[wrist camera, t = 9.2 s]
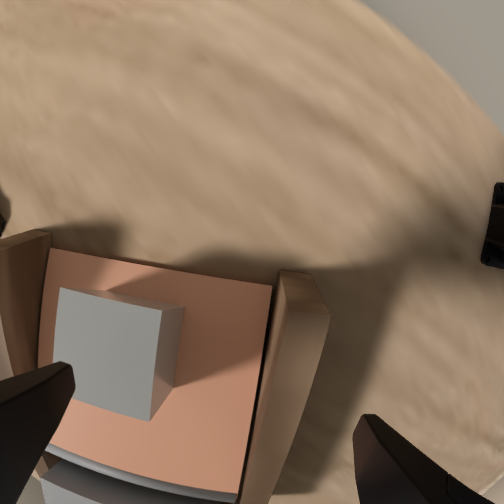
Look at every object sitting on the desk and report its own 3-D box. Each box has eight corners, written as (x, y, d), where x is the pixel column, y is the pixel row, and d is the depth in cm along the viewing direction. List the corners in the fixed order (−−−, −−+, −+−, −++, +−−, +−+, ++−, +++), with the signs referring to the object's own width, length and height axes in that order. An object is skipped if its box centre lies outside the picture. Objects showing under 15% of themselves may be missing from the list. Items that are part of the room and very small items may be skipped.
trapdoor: (268, 286, 23) (276, 284, 18) (228, 526, 20) (226, 561, 15) (68, 252, 22) (33, 242, 17) (61, 481, 19) (37, 505, 14)
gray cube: (184, 306, 20) (161, 310, 14) (173, 388, 19) (149, 421, 13) (106, 290, 19) (60, 287, 13) (97, 368, 19) (52, 390, 13)
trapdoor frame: (309, 274, 20) (331, 316, 14) (251, 495, 26) (249, 543, 20) (32, 229, 20) (-25, 248, 14) (69, 451, 26) (46, 489, 19)
